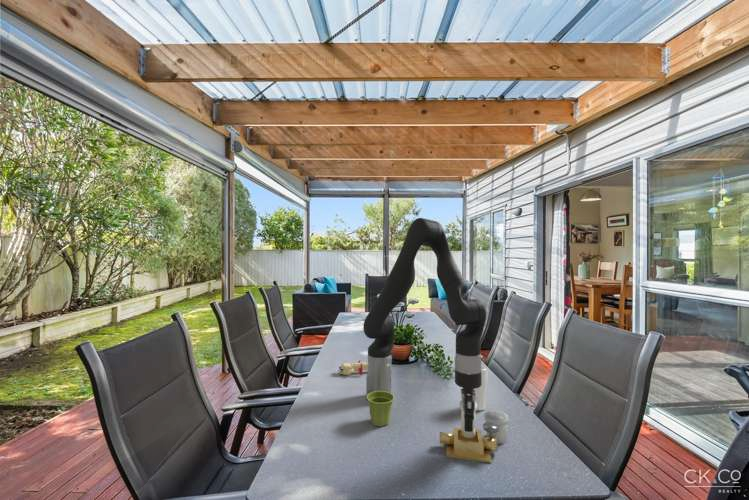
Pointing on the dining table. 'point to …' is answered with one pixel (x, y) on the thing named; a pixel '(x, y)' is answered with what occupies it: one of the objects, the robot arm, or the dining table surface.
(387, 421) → the plant pot
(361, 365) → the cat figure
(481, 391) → the white tall cylinder
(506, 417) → the cylinder
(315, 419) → the dining table surface
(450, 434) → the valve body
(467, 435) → the white mushroom shaped knob
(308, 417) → the dining table surface
